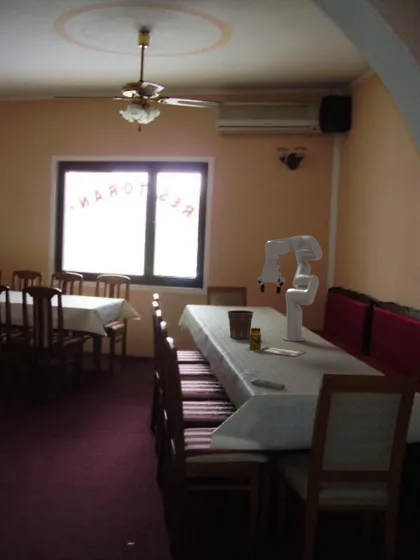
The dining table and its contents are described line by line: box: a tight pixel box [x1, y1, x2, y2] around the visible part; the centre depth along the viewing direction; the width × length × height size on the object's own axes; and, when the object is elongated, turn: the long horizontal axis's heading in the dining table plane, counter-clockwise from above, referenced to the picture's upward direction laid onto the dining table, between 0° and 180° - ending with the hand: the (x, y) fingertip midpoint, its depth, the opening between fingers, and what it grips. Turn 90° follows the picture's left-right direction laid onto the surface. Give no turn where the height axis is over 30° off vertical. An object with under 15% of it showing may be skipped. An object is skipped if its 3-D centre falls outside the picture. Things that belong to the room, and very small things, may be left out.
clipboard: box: [257, 346, 307, 358], centre depth 311 cm, size 15×22×1 cm
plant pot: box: [226, 309, 254, 340], centre depth 354 cm, size 16×16×16 cm
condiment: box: [246, 327, 262, 352], centre depth 318 cm, size 7×8×12 cm
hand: (270, 293), depth 323 cm, fingers open, 9 cm apart
